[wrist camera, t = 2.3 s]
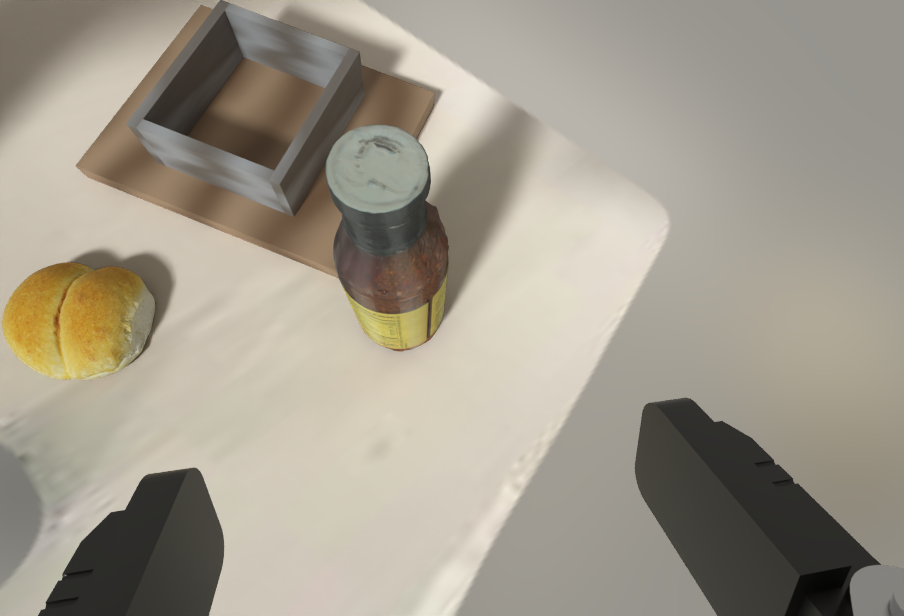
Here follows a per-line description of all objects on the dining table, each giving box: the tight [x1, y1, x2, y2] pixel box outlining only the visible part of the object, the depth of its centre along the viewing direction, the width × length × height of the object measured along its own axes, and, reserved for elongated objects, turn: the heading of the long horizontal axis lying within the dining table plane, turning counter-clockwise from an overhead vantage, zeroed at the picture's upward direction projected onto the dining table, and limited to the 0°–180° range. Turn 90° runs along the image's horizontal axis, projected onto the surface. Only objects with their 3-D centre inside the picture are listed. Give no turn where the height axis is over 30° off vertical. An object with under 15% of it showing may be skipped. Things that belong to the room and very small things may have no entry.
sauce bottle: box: [325, 125, 449, 351], centre depth 29 cm, size 6×6×20 cm
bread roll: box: [2, 263, 155, 380], centre depth 35 cm, size 8×9×4 cm
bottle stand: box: [76, 0, 434, 278], centre depth 39 cm, size 22×18×6 cm
